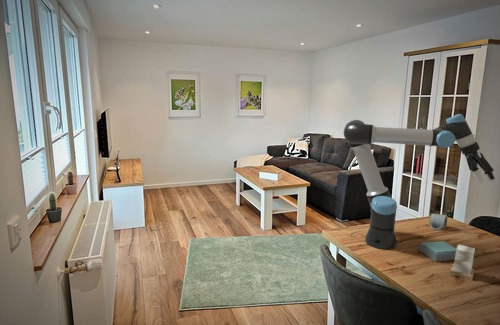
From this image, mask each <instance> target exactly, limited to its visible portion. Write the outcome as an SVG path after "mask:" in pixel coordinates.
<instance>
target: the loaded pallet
mask: <svg viewBox="0 0 500 325" xmlns="http://www.w3.org/2000/svg"><path fill="white" fill-rule="evenodd" d="M475 250H476V248H475V247H470V246H468V245H462V244H458V245H457V246H456V255H455V260H454V262H453V263H452V265H451V268H450V270H449V274H450V275H453V276H457V277H459V278H464V279H467V280H470V281H473V279H474V274H475V272H476V271H475V270H476V269H475V268H473V265H474V258H475V257H474V256H475V252H476V251H475Z"/></svg>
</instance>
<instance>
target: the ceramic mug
mask: <svg viewBox="0 0 500 325" xmlns="http://www.w3.org/2000/svg"><path fill="white" fill-rule="evenodd" d="M428 220H429V221H428V222H429V227H430V229H432V230H433V229H434V231H440V230H441V229H443V230H444V229H446V228H447V224H448V216H447V215H445V214H437V213H431V214H430V216H429V219H428Z"/></svg>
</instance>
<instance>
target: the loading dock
mask: <svg viewBox="0 0 500 325" xmlns="http://www.w3.org/2000/svg"><path fill="white" fill-rule="evenodd" d="M417 244H418V245H417V250H418V251H419V252H420V253H422V254H424V255H425V256H426V257H428V258H430V259H431V260H432V261H434V262H443V261H453V260H454V261H455V255H456V249H457V247H455V246H452V245H451V244H449V243H447V242H446V241H444V240H443V241H429V242H419V243H417Z"/></svg>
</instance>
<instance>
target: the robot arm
mask: <svg viewBox="0 0 500 325" xmlns="http://www.w3.org/2000/svg"><path fill="white" fill-rule="evenodd" d="M467 121H468V120H466V118H465V117H464V115H463V114H462V113H458V114H455V115H453V116H450V117H448V118H446V120H445V122H446V123H445V124H443V125H440V126H437V127H435V128H433V129H423V128H422V129H421V128H403V127H401V128H400V127H383V126H382V127H381V126H375V125H374V124H369V123H368V124H367V123H365V122H364V121H362V120H359V119H354V120H351V121H349V122H347V123H346V124H345V127H344V129H343V136H344V139H345V140H346V141H347V144H348V148H349V149H350V150H352V151H353V153H354V155H355V158H356V162H357V164H358V166H359V169H360V173H361V175H362V177H363V181H364V184H365V186H366V189H367V192H366V198H367V200H368V204H369V206H370V219H369V220H370V221H369V228H368V230H367V232H366V235H365V236H364V237H365V238H364V242H365V243H366V244H367V245H368V246H370V247H373V248H377V249H381V250H393V249H395V248H396V247H397V242H398V240H397V236H396V233H395V225H396V218H397V217H396V216H397V210H398V205H397V201H396V200H395V198H392V196H391V194H390V191H389V188H388V187H387V186H385V185H384V183H383V180H382V177H381V174H380V172H379V168H378V165H377V163H376V159H375V157H374V154H373V151H372V149H371V146H370V145H373V143H379V144H380V143H381V144H393V145H394V144H398V145H410V146H411V145H412V146H413V145H414V146H415V145H416V146H428V147H440V148H442V149H443V148H446V149H448V148H450V147H452V146H453V145H454V144H455V142H456V144H457V145H458V147H459V149H460V152H461V153H462V155H464V157H465V159H466V163H467V166H468V169H469V171H470V172H472V173H473V175H474V178H475V179H476V181H477V184H479V185H480V184H482V183H485V182H486V181H485V179H484V177H483V175H482V174H481V171H480V169H482V171H483V172H484V175H485V176H486V179H487V180H488V182H489V184H490V186H491V188H494V187H496V186H499V184H500V183H498V181H497V178H496V177H495V175H494V173H493V172H494V171H495V170H494V168H493V167H492V165H491V164H490V163H489V162H488V160H487V159H486V157H485V156H484V155H483V153H482V152H478V151H479V150H480V149H481V148H480V145H479V143H478V142H477V141H476V138H475V136H476V135H475V134H474V133H473V131H472V130H471V128H470V126H469V123H468V122H467ZM479 167H480V168H479Z"/></svg>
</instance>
